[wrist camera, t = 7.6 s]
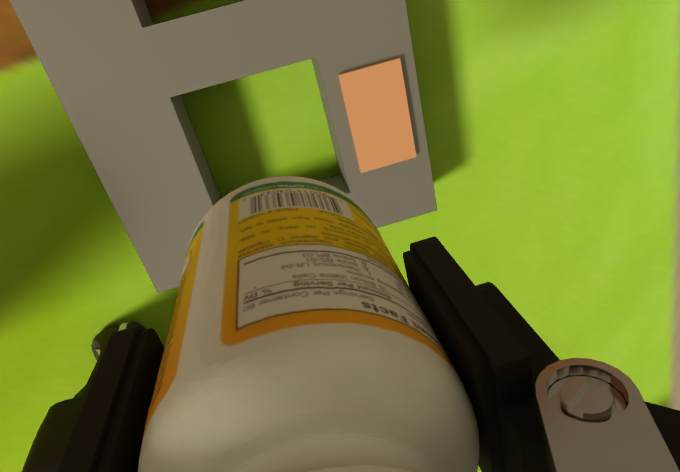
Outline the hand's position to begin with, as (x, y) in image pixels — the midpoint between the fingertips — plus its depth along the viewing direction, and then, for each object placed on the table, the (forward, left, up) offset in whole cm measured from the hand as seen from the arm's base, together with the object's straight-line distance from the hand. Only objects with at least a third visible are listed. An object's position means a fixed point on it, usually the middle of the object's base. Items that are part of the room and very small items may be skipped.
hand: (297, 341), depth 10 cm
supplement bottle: (0, 0, -4) cm, 4 cm away
